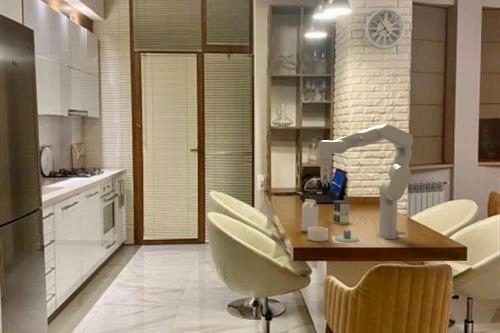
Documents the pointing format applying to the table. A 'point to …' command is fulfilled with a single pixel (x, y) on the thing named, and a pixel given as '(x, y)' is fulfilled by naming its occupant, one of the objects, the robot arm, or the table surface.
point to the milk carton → (309, 214)
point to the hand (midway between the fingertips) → (324, 192)
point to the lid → (347, 237)
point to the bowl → (317, 233)
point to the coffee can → (341, 212)
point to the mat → (347, 242)
